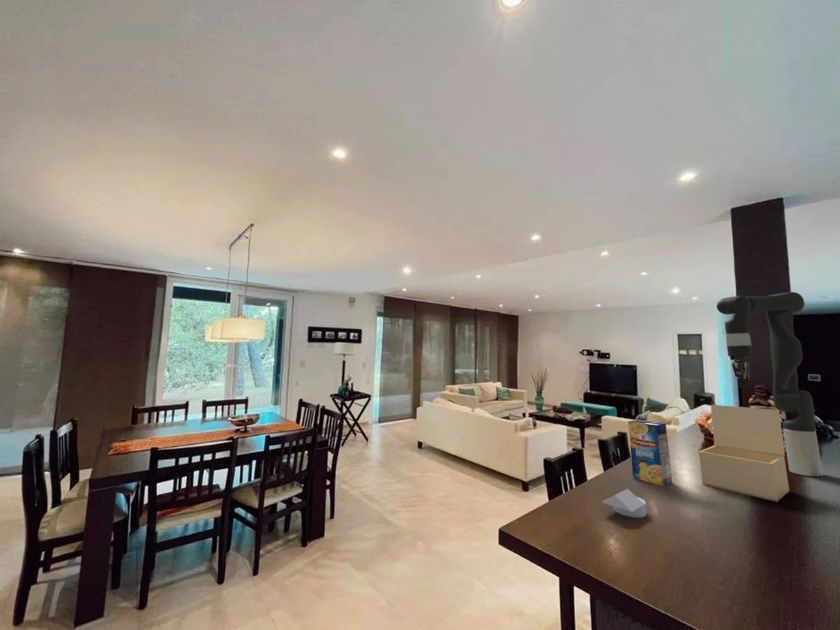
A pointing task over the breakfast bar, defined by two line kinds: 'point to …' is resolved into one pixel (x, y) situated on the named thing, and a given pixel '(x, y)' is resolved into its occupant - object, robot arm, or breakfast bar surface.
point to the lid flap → (748, 429)
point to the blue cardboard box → (650, 451)
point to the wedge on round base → (627, 504)
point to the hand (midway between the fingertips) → (744, 387)
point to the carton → (744, 472)
